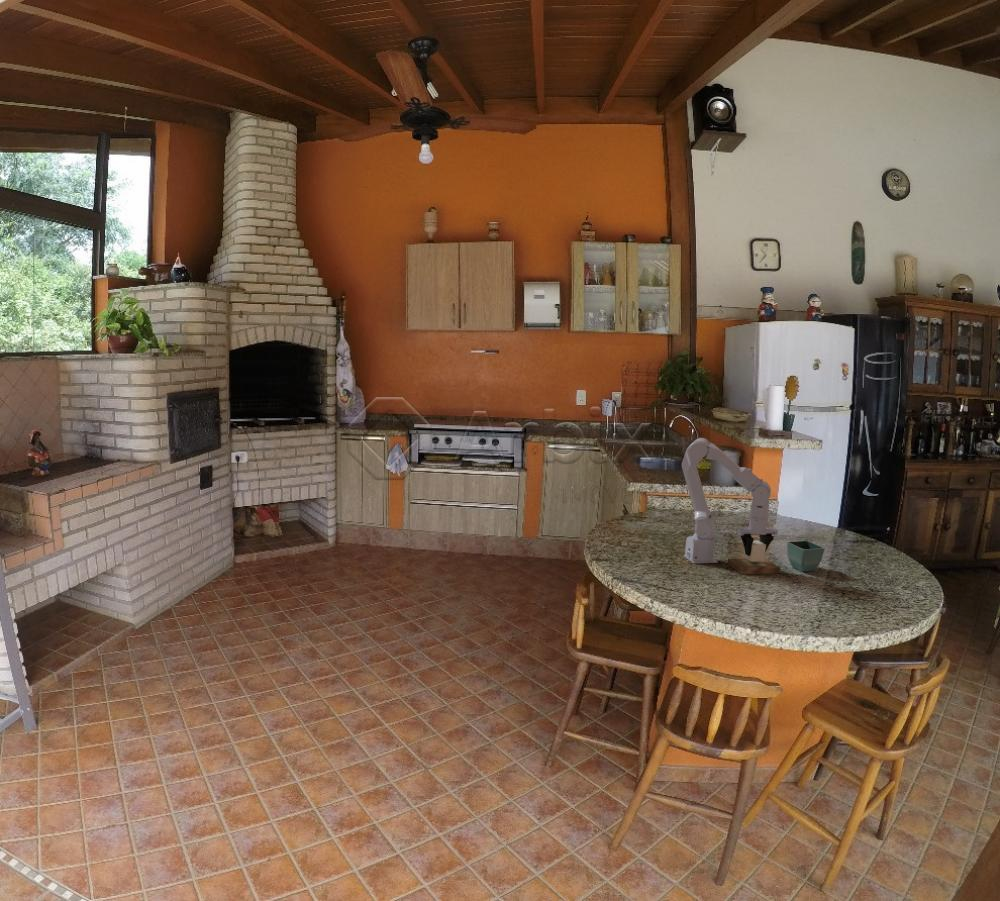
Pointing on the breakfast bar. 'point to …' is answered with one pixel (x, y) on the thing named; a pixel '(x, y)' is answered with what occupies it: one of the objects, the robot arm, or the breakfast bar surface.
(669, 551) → the breakfast bar surface
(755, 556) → the cream block
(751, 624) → the breakfast bar surface
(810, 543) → the flower pot
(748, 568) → the walnut base
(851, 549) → the breakfast bar surface
